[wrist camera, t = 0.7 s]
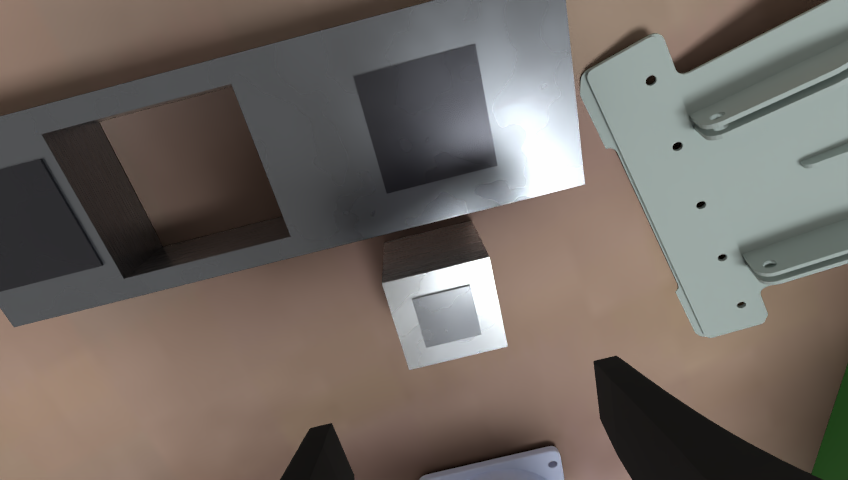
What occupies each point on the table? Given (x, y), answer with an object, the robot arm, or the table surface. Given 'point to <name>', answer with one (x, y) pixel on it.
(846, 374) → the hardback book
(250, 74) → the rail
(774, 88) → the metal bracket
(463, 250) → the cube with square inset
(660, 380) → the table surface
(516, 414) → the table surface
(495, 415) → the table surface
